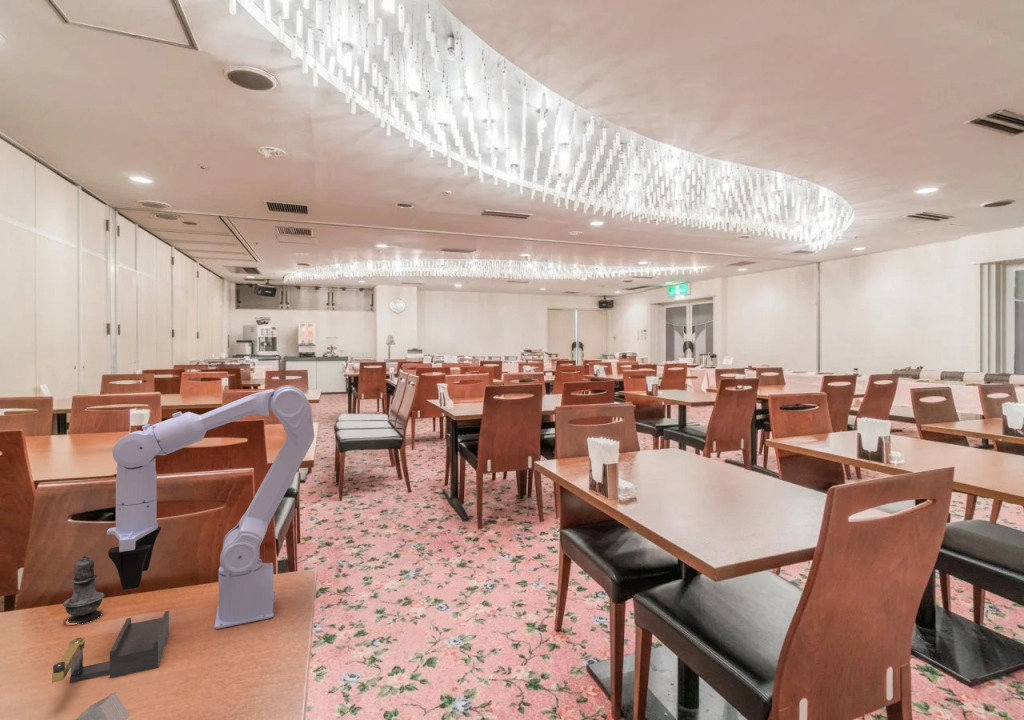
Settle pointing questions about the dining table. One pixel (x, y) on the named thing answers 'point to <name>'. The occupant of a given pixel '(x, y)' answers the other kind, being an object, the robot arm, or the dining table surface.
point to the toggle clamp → (128, 650)
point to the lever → (67, 659)
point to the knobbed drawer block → (106, 710)
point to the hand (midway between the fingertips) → (136, 579)
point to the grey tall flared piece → (84, 593)
